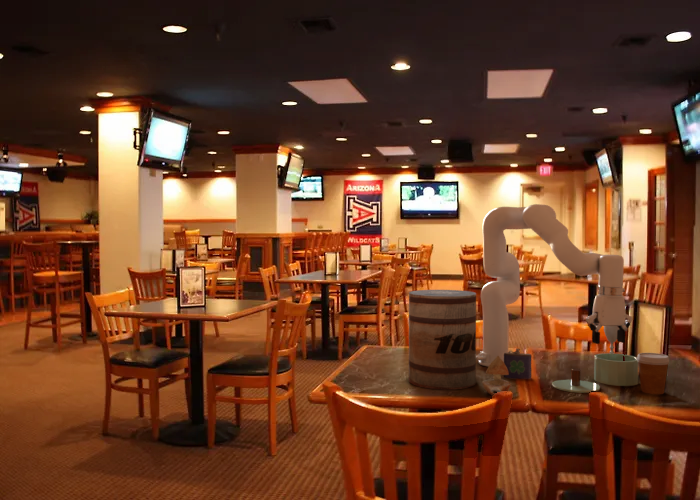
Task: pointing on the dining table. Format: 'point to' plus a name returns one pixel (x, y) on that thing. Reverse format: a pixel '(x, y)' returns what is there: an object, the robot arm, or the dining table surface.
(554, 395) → the dining table surface
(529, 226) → the robot arm
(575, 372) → the lid
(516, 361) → the flask
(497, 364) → the oil lamp
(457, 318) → the barrel
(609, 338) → the chalice
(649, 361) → the disposable coffee cup
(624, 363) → the canister
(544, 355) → the dining table surface
